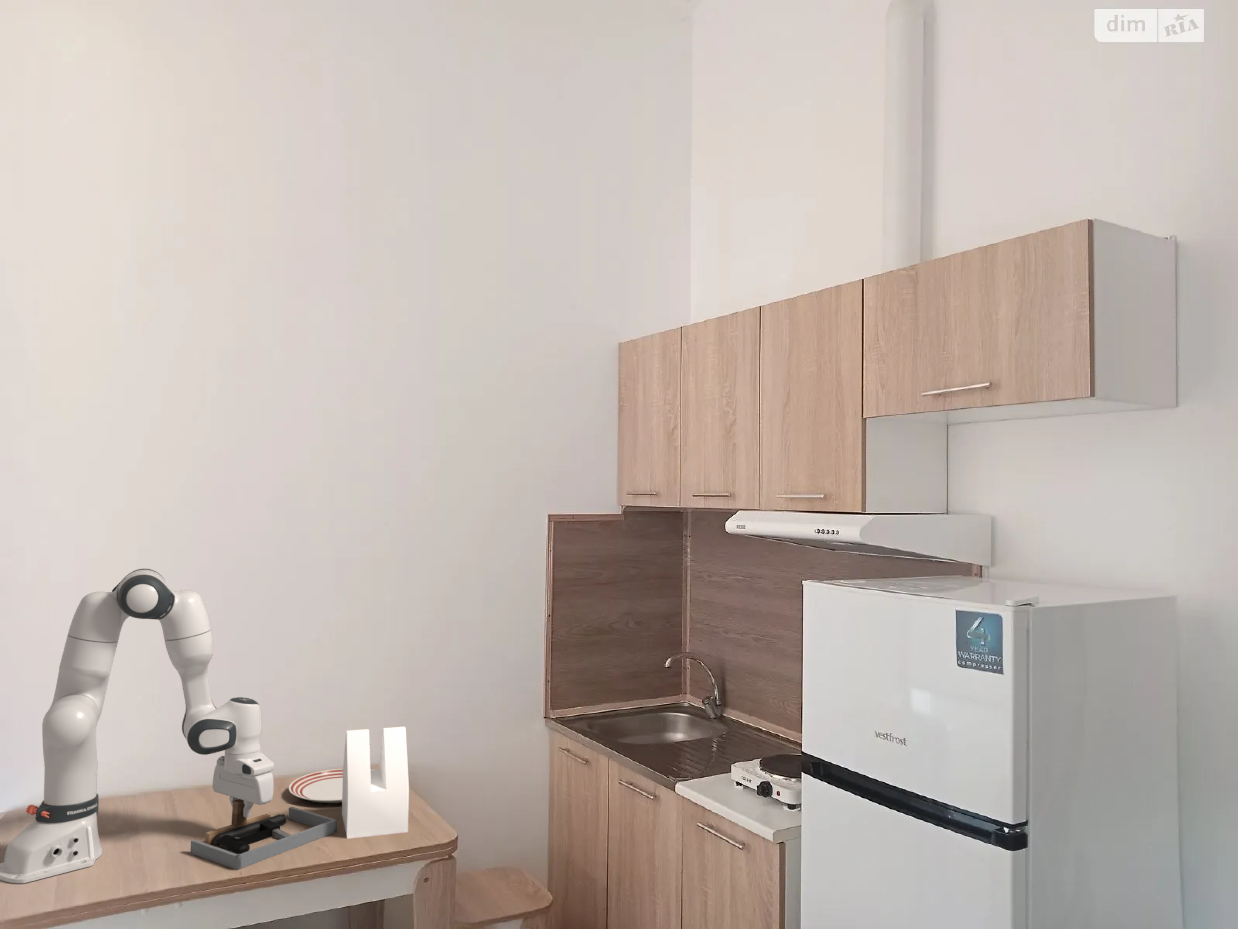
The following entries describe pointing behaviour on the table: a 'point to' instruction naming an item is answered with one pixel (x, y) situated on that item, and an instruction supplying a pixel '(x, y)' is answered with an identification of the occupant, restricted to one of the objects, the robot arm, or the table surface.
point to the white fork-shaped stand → (375, 785)
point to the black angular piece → (251, 834)
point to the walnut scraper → (234, 821)
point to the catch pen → (235, 861)
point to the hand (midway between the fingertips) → (241, 815)
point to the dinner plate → (319, 786)
